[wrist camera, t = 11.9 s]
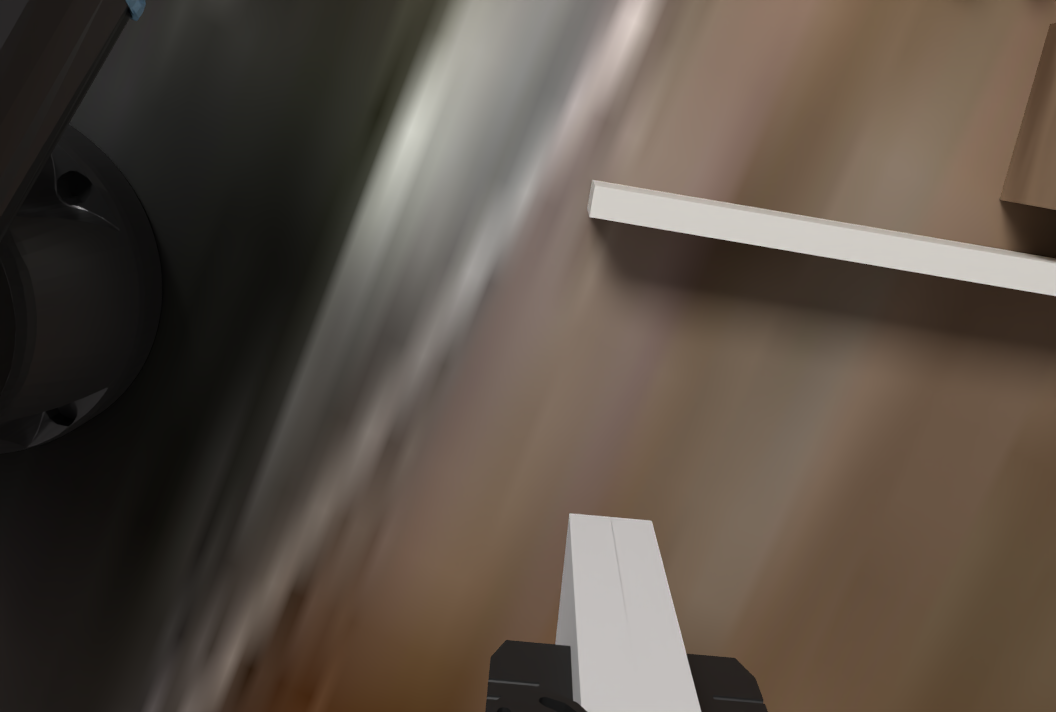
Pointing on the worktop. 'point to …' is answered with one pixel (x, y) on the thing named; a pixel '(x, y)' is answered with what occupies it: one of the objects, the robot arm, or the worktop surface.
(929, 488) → the worktop surface
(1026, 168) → the block
